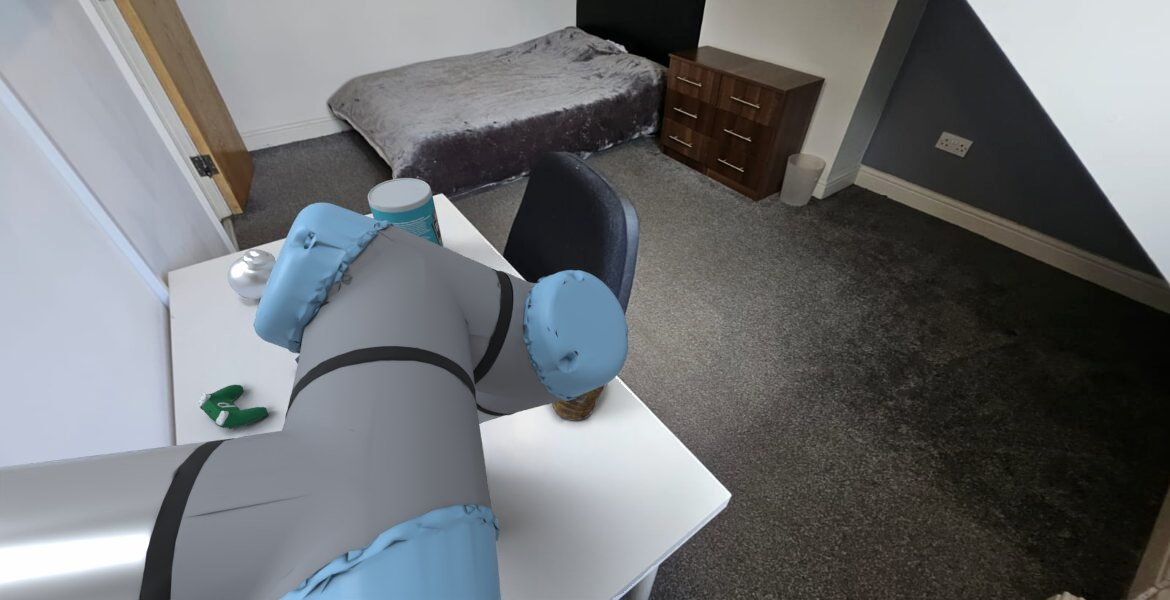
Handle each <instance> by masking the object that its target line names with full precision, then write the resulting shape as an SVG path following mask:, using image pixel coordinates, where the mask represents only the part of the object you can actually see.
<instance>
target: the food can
mask: <svg viewBox="0 0 1170 600" xmlns="http://www.w3.org/2000/svg"><path fill="white" fill-rule="evenodd" d="M367 201H368V204H369V208H370V211H371V215H372V218H373V219H376V220H379V221H385V220H386V221H389V222H391V223H393V225H394V226H396V227H398V228H401V229H403V230H405V231H408V232H410V233H412V234H414V235H417V236H419V237H421V238H424V239H426V240H428V241H431V242H433V243H435V244H438V245H440V246H442V247H445V246H444V243H443V237H442V233H441V229H440V224H439V219H438V215H437V210H436V205H435V200H434V196H433V191H432V189H431V185H430V184H428V183H427V182H425V181H424V180H421V179H419V178H414V177H413V178H411V177H401V178H393V179H390V180H386V181H382V182H380V183H378V184H376V185H375V186H374V187H372V188H371V189H370V190H369V192H368V194H367Z"/></svg>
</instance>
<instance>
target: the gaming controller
mask: <svg viewBox="0 0 1170 600" xmlns="http://www.w3.org/2000/svg"><path fill="white" fill-rule="evenodd" d="M243 392H244V387H243V386H242V385H241V384H229V385H227V386H224V387H222V388H220V389H218V390H216V391H214V392H212V393H206V392H205V393H204V392H203V394H202V395H201V397H200V399H199V401H198V406H199V408H200V410H202V411H203V412H204V413H205V414H206V415H207V416H208V418H210V420H212V422H214V423H215V425H217V426H218V427H220V428H224V429H230V430H231V429H234V428H240V427H244V426H246V425H249V424H252V423H254V422H256V421H259V420H261V419H262V418H264V417H266V416H267V415H269V414H268V413H269V412H268V410H267V407H264V406H255V407H249V408H244V409H240V408H239V406H237V405H236V404H235V403H233V401H234V400H235V399H237V398H239V396H241V394H243Z"/></svg>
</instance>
